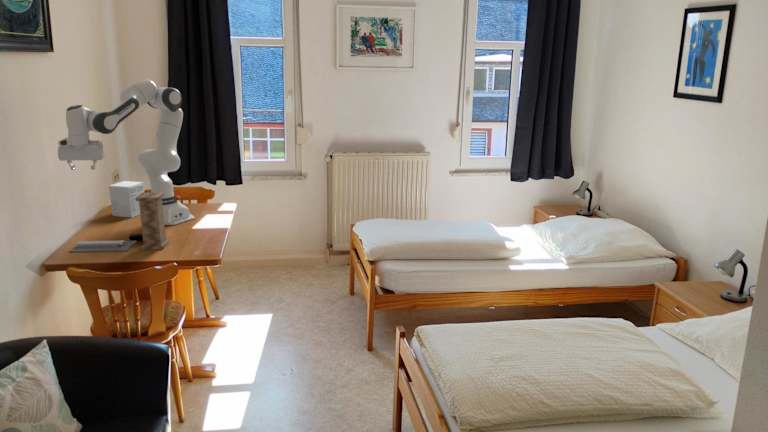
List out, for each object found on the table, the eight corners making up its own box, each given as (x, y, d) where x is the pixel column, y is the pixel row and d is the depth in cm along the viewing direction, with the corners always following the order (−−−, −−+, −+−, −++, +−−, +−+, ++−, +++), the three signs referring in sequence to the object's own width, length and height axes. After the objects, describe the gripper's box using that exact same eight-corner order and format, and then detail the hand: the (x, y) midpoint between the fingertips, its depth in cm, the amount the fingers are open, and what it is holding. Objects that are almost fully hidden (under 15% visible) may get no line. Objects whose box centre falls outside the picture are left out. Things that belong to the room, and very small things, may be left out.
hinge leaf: (76, 247, 287) (75, 243, 286) (79, 244, 291) (79, 240, 290) (122, 246, 288) (121, 242, 288) (125, 244, 292) (124, 239, 291)
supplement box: (147, 211, 351) (143, 181, 346) (132, 217, 338) (128, 187, 334) (127, 210, 354) (123, 180, 349) (111, 216, 342) (108, 185, 337)
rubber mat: (69, 252, 282) (69, 251, 282) (81, 242, 296) (81, 241, 295) (126, 251, 284) (126, 250, 284) (136, 241, 297) (136, 240, 297)
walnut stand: (141, 249, 286) (135, 197, 279) (147, 242, 296) (142, 192, 289) (163, 249, 287) (157, 197, 280) (169, 242, 296) (164, 192, 289)
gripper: (104, 139, 291) (108, 167, 295) (60, 139, 290) (64, 168, 294) (99, 141, 285) (103, 170, 289) (54, 141, 284) (58, 171, 288)
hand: (83, 169), depth 291 cm, fingers open, 8 cm apart
